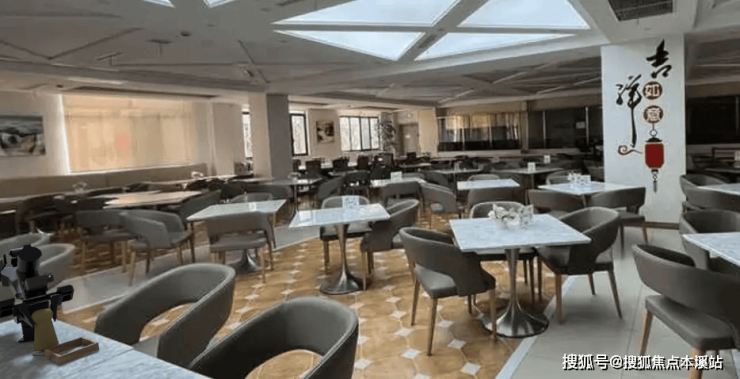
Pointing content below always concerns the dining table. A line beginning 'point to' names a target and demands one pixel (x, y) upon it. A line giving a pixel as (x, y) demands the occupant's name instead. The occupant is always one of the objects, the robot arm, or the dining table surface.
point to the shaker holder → (69, 356)
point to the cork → (44, 330)
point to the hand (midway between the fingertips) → (44, 323)
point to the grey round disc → (39, 352)
